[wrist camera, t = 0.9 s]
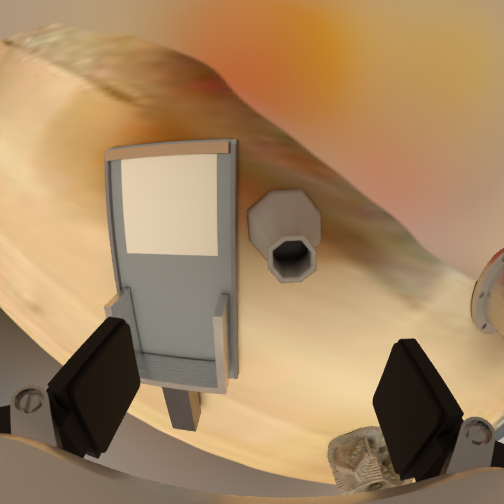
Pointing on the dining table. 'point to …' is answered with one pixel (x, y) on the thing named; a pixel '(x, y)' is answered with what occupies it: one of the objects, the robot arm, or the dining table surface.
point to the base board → (175, 241)
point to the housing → (181, 364)
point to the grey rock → (362, 462)
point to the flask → (286, 233)
